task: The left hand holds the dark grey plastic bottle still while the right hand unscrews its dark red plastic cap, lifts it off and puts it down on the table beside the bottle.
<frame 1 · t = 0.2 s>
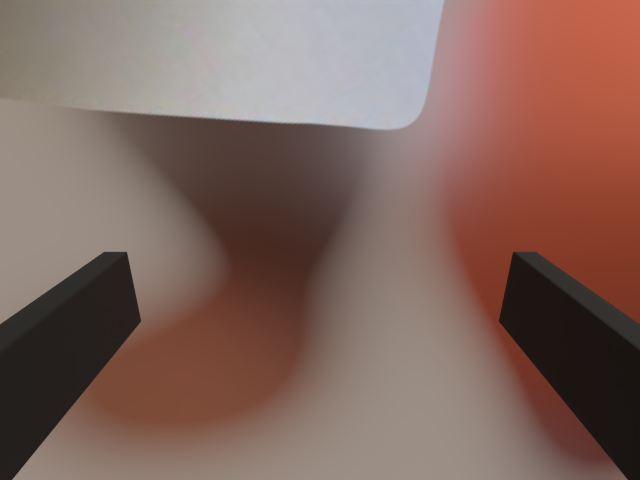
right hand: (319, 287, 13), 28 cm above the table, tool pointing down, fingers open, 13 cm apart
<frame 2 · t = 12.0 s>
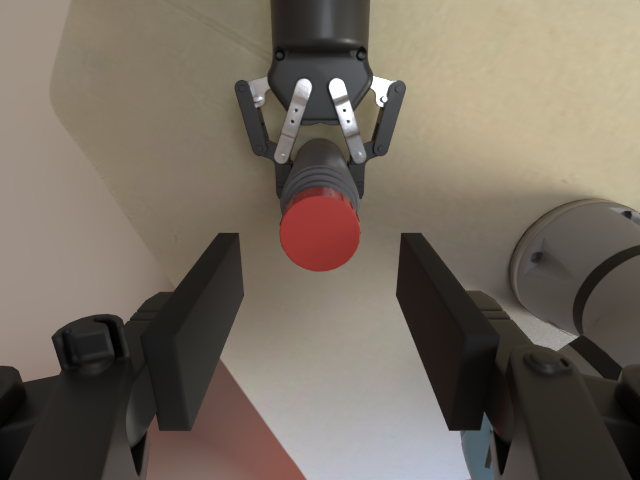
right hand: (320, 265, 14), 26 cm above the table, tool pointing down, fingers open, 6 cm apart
left hand: (320, 202, 33), fingers closed on bottle, 5 cm apart
cap: (320, 233, 18), point 22 cm above the table, screwed on, not yet turned
bottle: (320, 162, 38), on the table, touching left hand
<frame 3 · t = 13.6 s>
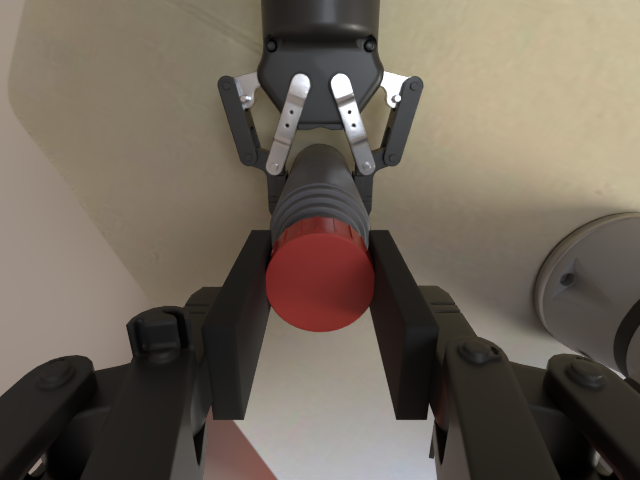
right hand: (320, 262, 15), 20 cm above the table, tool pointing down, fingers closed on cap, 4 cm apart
left hand: (320, 219, 28), fingers closed on bottle, 5 cm apart
cap: (320, 281, 13), point 22 cm above the table, screwed on, not yet turned, touching right hand
bottle: (320, 171, 33), on the table, touching left hand
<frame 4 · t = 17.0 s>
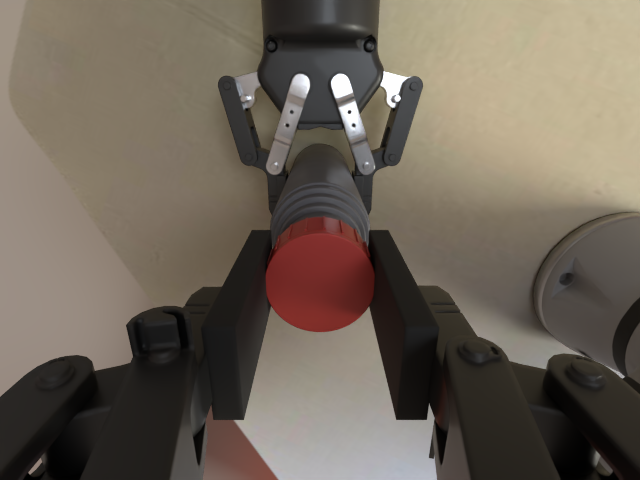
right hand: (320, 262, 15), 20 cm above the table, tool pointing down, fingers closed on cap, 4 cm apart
left hand: (320, 219, 28), fingers closed on bottle, 5 cm apart
cap: (320, 281, 13), point 22 cm above the table, turned 106° so far, risen 0.1 cm, still on its thread, touching right hand
bottle: (320, 171, 33), on the table, touching left hand
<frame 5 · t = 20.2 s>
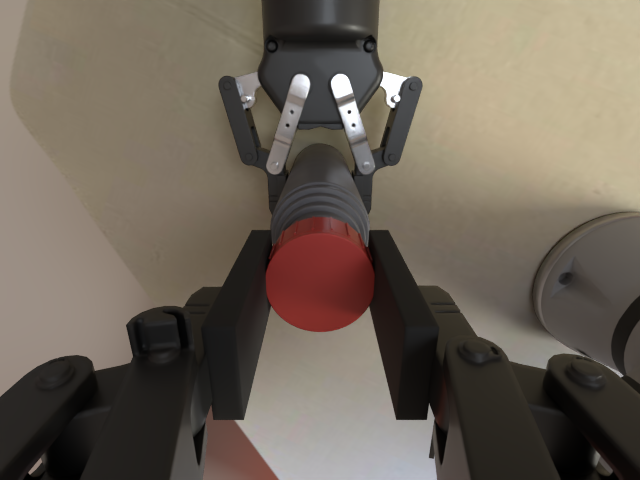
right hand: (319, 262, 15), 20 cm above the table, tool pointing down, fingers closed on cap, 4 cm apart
left hand: (320, 218, 29), fingers closed on bottle, 5 cm apart
cap: (320, 281, 13), point 22 cm above the table, turned 213° so far, risen 0.2 cm, still on its thread, touching right hand
bottle: (320, 171, 34), on the table, touching left hand
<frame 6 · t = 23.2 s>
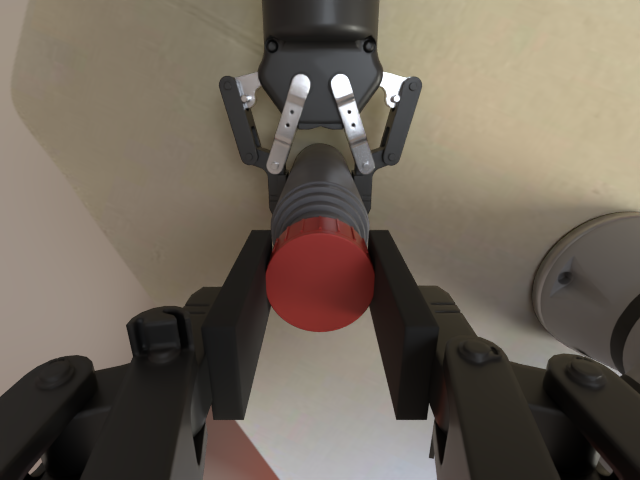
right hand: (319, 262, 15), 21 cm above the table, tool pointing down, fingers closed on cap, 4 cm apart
left hand: (320, 218, 29), fingers closed on bottle, 5 cm apart
cap: (320, 281, 13), point 22 cm above the table, turned 319° so far, risen 0.3 cm, still on its thread, touching right hand
bottle: (320, 171, 34), on the table, touching left hand
when the right hand's fingers open (1 cm above the table, at t = 29.7 s): cap drops 1 cm, point 2 cm above the table.
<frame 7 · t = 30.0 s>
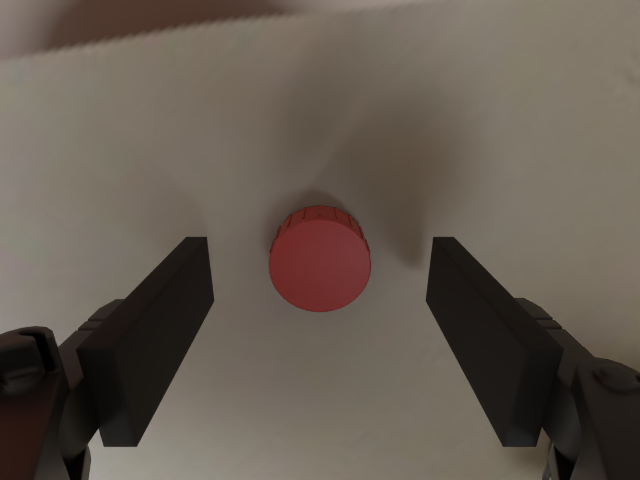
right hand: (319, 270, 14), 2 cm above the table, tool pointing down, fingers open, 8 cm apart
cap: (319, 264, 14), point 2 cm above the table, off its thread
when the left hand's fingers open (6 cm above the table, at t = 31.0 s): bottle stays where it is, on the table.
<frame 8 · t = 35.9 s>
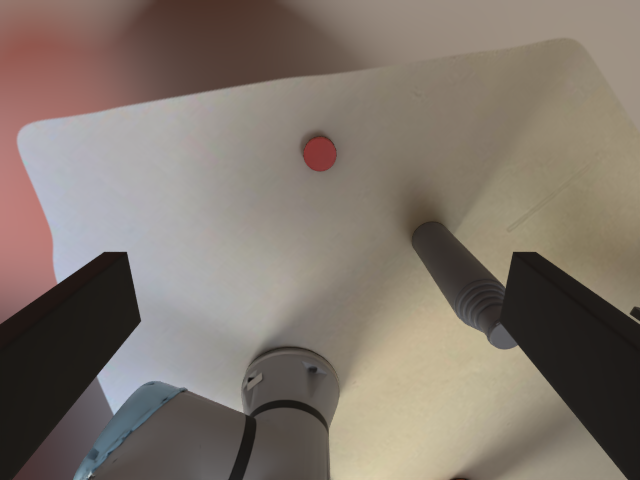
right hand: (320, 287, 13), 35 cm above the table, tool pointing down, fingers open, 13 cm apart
cap: (319, 154, 44), point 2 cm above the table, off its thread
bottle: (430, 239, 49), on the table
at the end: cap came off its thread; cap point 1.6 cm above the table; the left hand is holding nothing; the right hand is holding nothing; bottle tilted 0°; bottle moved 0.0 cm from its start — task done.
